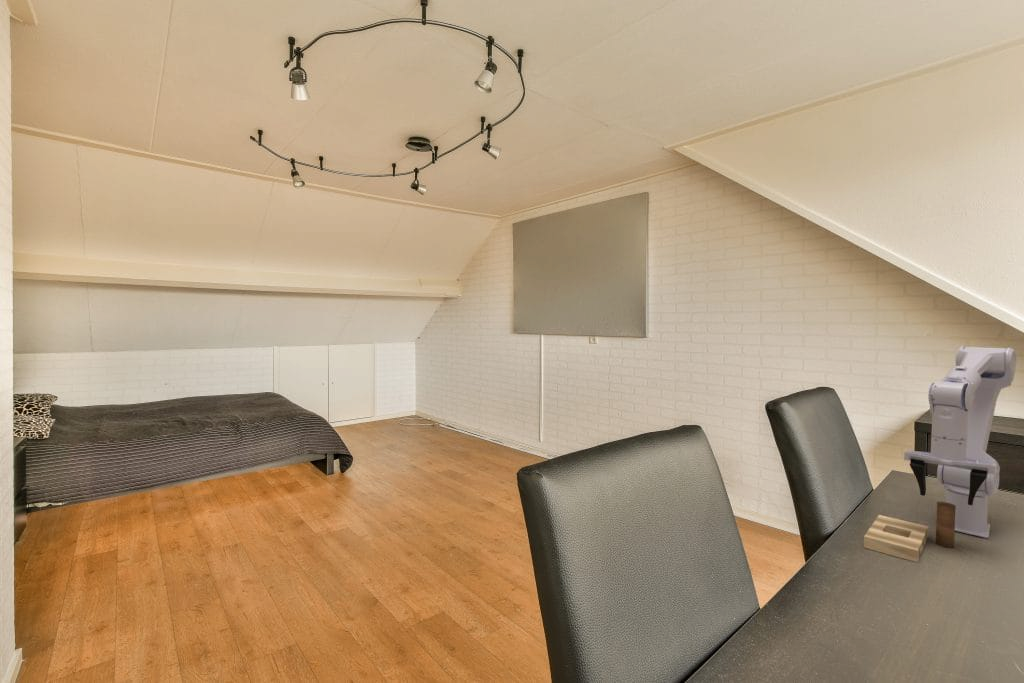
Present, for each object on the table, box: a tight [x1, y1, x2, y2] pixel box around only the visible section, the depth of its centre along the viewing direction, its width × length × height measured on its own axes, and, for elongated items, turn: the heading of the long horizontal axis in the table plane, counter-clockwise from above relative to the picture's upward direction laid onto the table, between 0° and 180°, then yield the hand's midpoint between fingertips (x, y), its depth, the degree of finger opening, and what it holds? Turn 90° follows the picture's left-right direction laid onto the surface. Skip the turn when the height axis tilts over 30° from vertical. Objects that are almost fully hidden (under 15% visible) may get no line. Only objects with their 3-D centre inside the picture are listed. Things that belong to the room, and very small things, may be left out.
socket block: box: [863, 514, 929, 563], centre depth 107 cm, size 16×9×2 cm, turn 134°
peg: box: [935, 501, 956, 549], centre depth 106 cm, size 3×3×9 cm
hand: (946, 499), depth 105 cm, fingers open, 7 cm apart
